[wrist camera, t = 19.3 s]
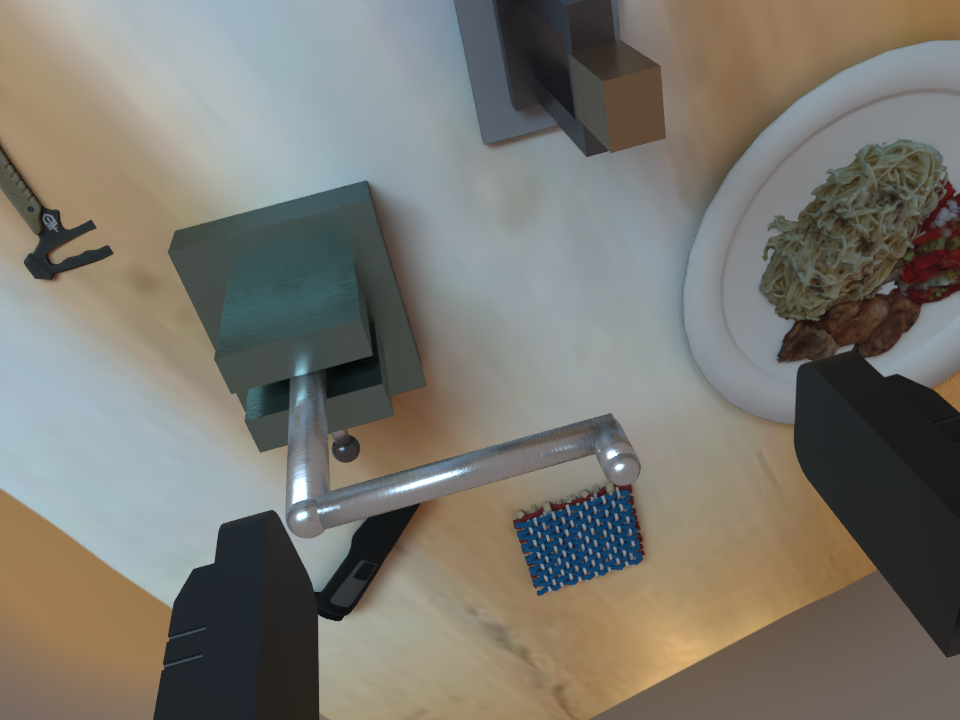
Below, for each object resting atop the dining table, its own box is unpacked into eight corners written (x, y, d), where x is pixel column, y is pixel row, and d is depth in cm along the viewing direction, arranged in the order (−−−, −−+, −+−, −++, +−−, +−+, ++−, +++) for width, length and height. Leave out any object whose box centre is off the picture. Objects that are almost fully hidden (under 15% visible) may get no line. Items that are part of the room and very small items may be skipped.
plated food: (615, 181, 52) (632, 201, 49) (1055, -61, 48) (1101, -54, 45) (735, 466, 68) (753, 492, 66) (1068, 302, 65) (1101, 323, 62)
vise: (175, 231, 48) (86, 491, 29) (504, 143, 48) (631, 341, 29) (265, 422, 57) (243, 718, 38) (542, 346, 57) (659, 598, 38)
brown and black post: (488, -22, 43) (564, 37, 30) (576, -45, 43) (689, 4, 30) (511, 105, 47) (587, 204, 34) (592, 83, 47) (697, 174, 34)
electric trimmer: (431, 484, 63) (436, 511, 61) (344, 606, 69) (346, 635, 67) (390, 470, 62) (394, 497, 59) (305, 596, 68) (305, 625, 65)
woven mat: (642, 548, 72) (650, 565, 71) (533, 584, 72) (538, 601, 71) (627, 469, 66) (635, 485, 65) (507, 507, 66) (512, 524, 65)
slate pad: (442, -56, 42) (444, -55, 41) (604, -97, 42) (607, -97, 42) (482, 141, 48) (484, 144, 48) (623, 104, 48) (626, 107, 48)
